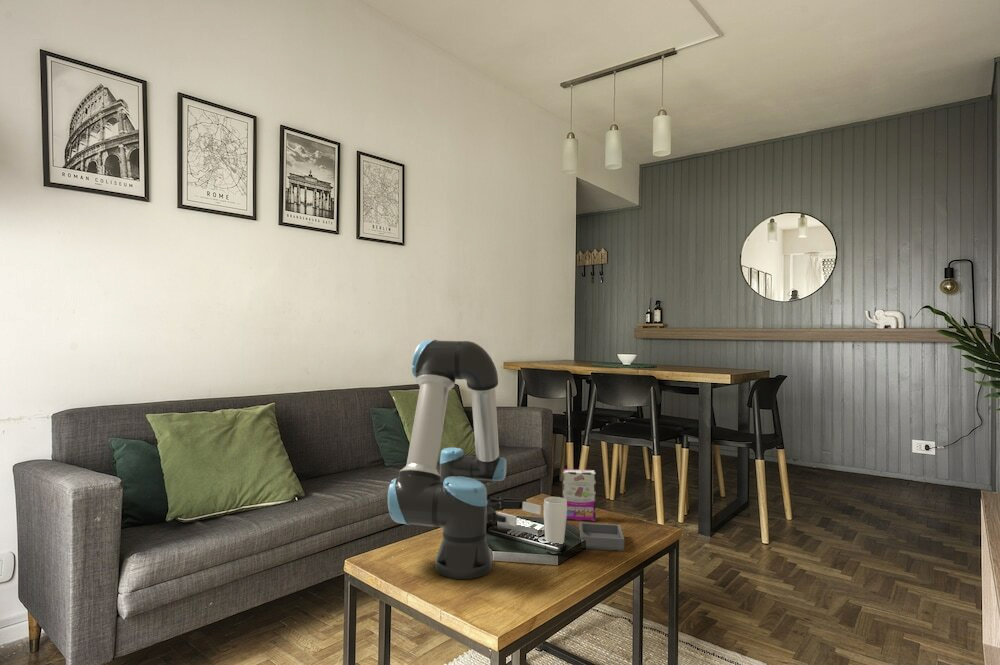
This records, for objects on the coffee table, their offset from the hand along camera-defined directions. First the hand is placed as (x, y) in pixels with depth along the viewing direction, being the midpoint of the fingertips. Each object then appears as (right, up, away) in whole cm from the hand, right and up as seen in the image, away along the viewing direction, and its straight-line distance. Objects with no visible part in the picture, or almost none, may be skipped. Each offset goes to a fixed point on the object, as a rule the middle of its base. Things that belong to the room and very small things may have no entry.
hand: (528, 515), depth 168 cm
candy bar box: (+18, -9, +24) cm, 32 cm away
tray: (+22, -9, +3) cm, 24 cm away
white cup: (+7, -9, -6) cm, 13 cm away
